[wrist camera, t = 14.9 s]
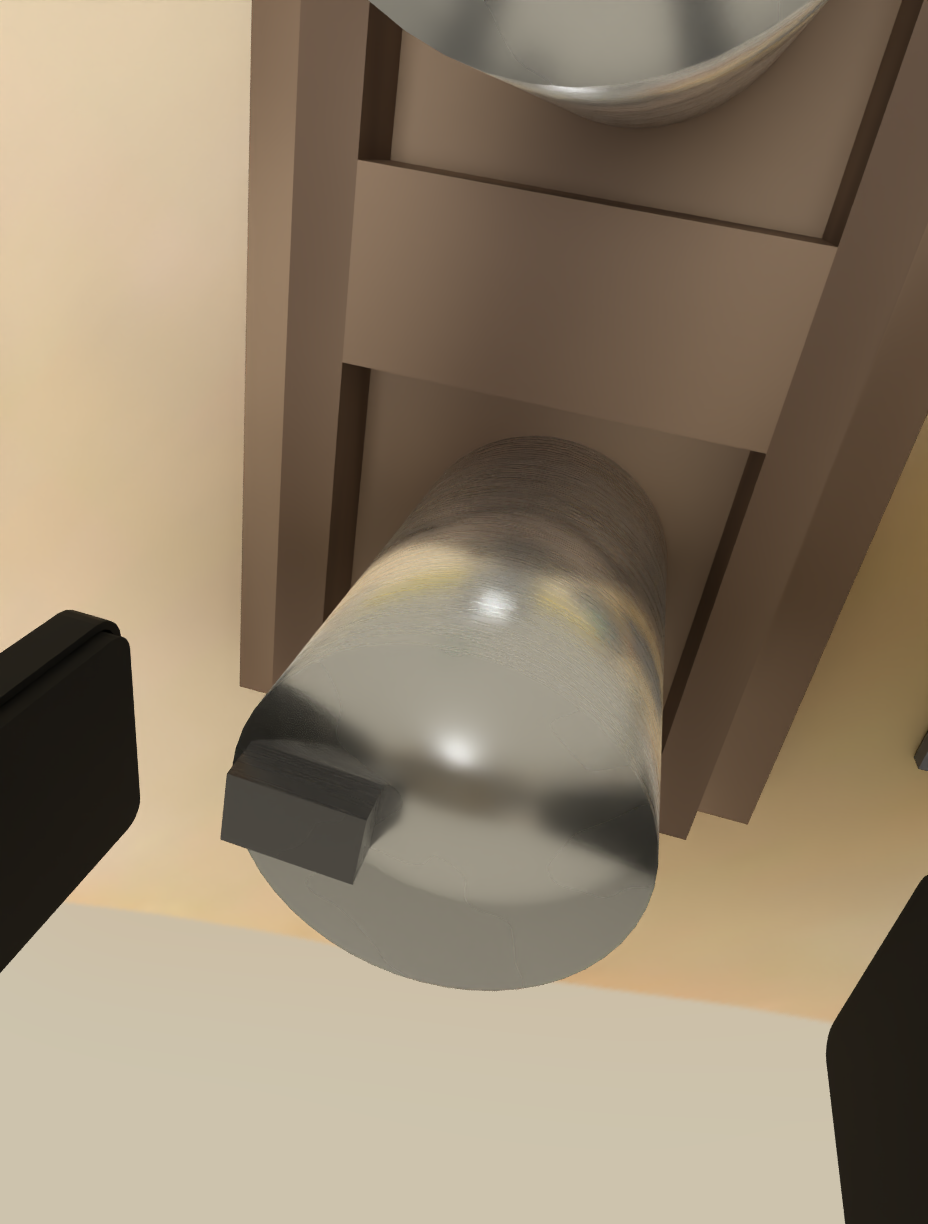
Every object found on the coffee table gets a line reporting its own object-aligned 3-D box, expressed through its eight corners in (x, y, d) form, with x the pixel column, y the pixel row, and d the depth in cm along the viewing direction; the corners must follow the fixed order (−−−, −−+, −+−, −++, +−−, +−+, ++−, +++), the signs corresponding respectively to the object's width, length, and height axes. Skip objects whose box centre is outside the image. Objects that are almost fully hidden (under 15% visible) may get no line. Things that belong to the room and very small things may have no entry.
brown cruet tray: (1309, -547, 9) (1524, -793, 7) (744, 789, 19) (752, 878, 17) (304, -606, 11) (196, -825, 8) (261, 660, 21) (206, 725, 18)
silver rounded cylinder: (705, 479, 15) (732, 774, 8) (620, 699, 17) (577, 1085, 10) (441, 403, 15) (222, 612, 8) (395, 628, 18) (194, 947, 10)
